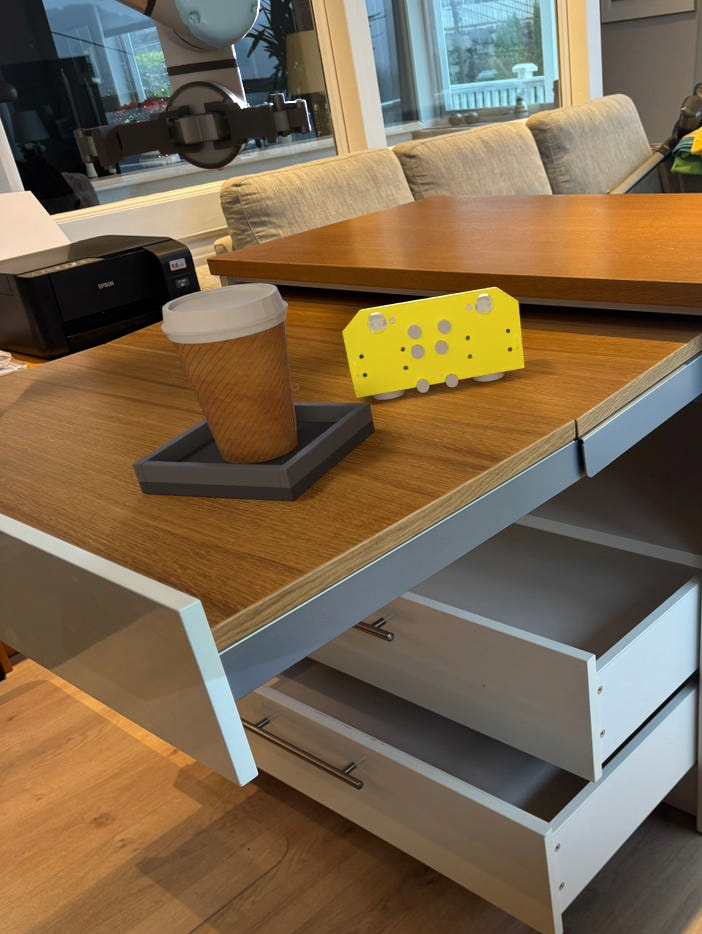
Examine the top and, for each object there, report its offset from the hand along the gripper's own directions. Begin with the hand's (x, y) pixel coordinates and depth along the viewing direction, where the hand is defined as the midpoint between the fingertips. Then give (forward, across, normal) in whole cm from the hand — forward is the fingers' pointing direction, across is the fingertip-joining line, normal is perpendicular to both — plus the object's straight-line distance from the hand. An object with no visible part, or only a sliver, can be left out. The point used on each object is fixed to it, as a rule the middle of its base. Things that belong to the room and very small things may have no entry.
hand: (184, 135), depth 73 cm
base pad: (+14, -1, -23) cm, 27 cm away
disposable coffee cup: (+14, -1, -22) cm, 26 cm away
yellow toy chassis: (+1, -18, -23) cm, 29 cm away
